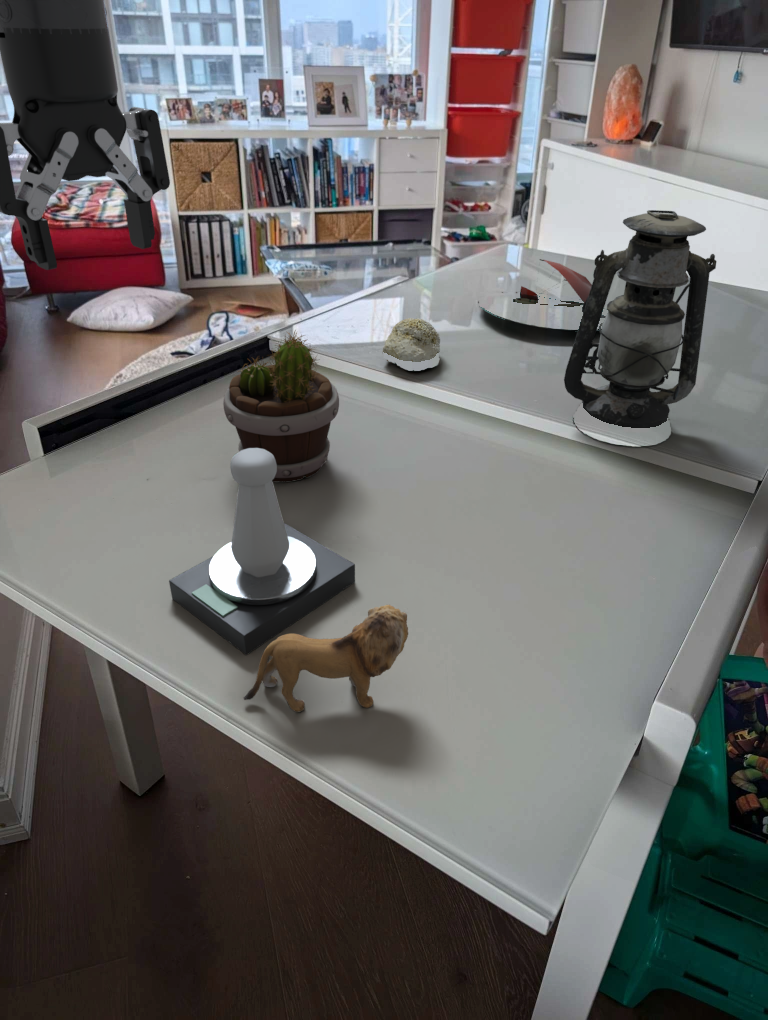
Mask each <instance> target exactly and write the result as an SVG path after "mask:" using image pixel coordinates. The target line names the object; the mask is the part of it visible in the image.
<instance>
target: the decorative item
mask: <svg viewBox="0 0 768 1020" xmlns="http://www.w3.org/2000/svg"><path fill="white" fill-rule="evenodd" d="M440 343H441V338H440V334H439V333H438V331H437V330H436V328H435V327H434V326H433V325H432V324H431V323H430V322H428V321H426V320H425V319H423V318H413V317H409V318H405V319H402V320H400V321H398V322H397V323H395V325H394V326H393V327H392V329H391V333H389V335H388V336H387V338H386V339H385V342H384V345H383V347H382V353H383V352H384V353H387V354H388V355H391V356H393V357H395V358H397V359H399V360H403V361H412V362H421V361H425V360H430V359H432V358H434V357H435V356H436V354H437V353H439V352H440V351H441V348H440V347H441V345H440ZM440 353H441V352H440Z"/></svg>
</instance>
